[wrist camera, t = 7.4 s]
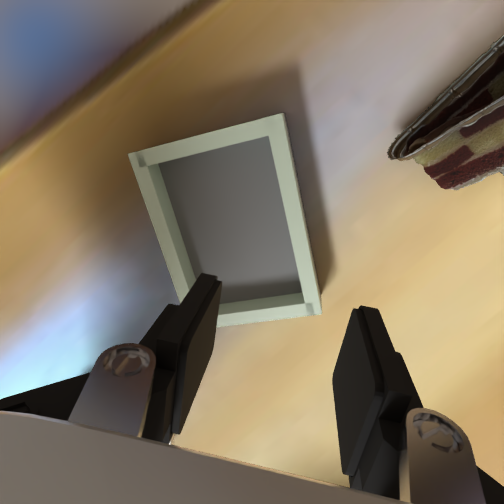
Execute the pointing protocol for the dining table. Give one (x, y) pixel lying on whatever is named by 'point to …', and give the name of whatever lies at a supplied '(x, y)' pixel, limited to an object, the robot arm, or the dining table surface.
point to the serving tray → (233, 219)
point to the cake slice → (461, 127)
